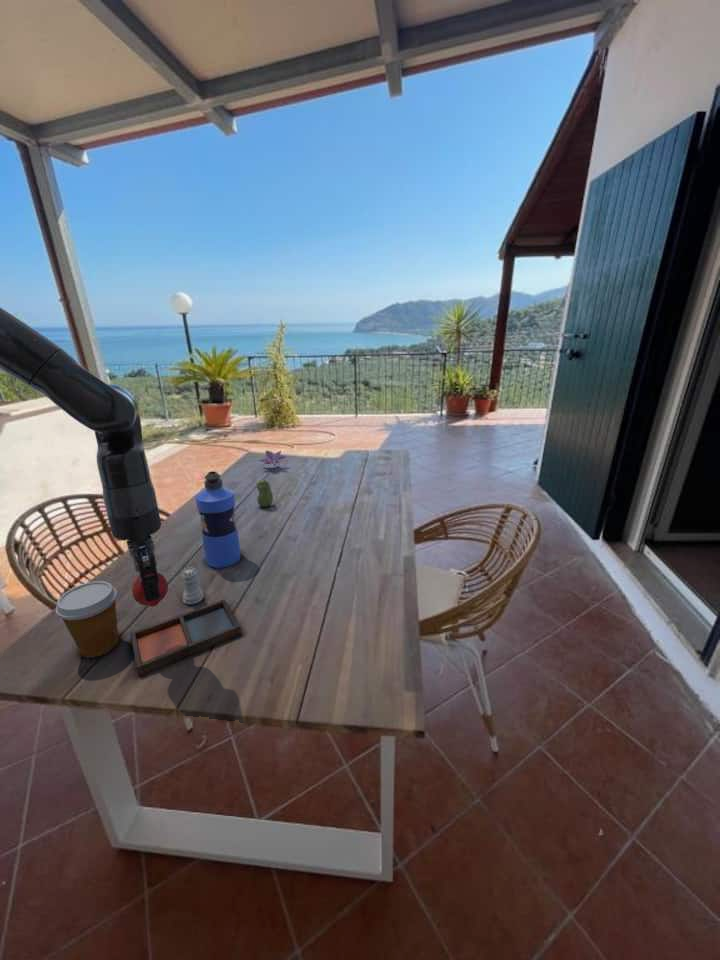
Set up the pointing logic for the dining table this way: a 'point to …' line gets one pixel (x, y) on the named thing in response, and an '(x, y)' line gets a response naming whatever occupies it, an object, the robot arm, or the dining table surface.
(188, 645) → the tray
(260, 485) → the pear
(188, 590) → the rook chess piece
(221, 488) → the water bottle
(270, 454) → the lily
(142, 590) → the pomegranate
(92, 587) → the disposable coffee cup
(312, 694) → the dining table surface
